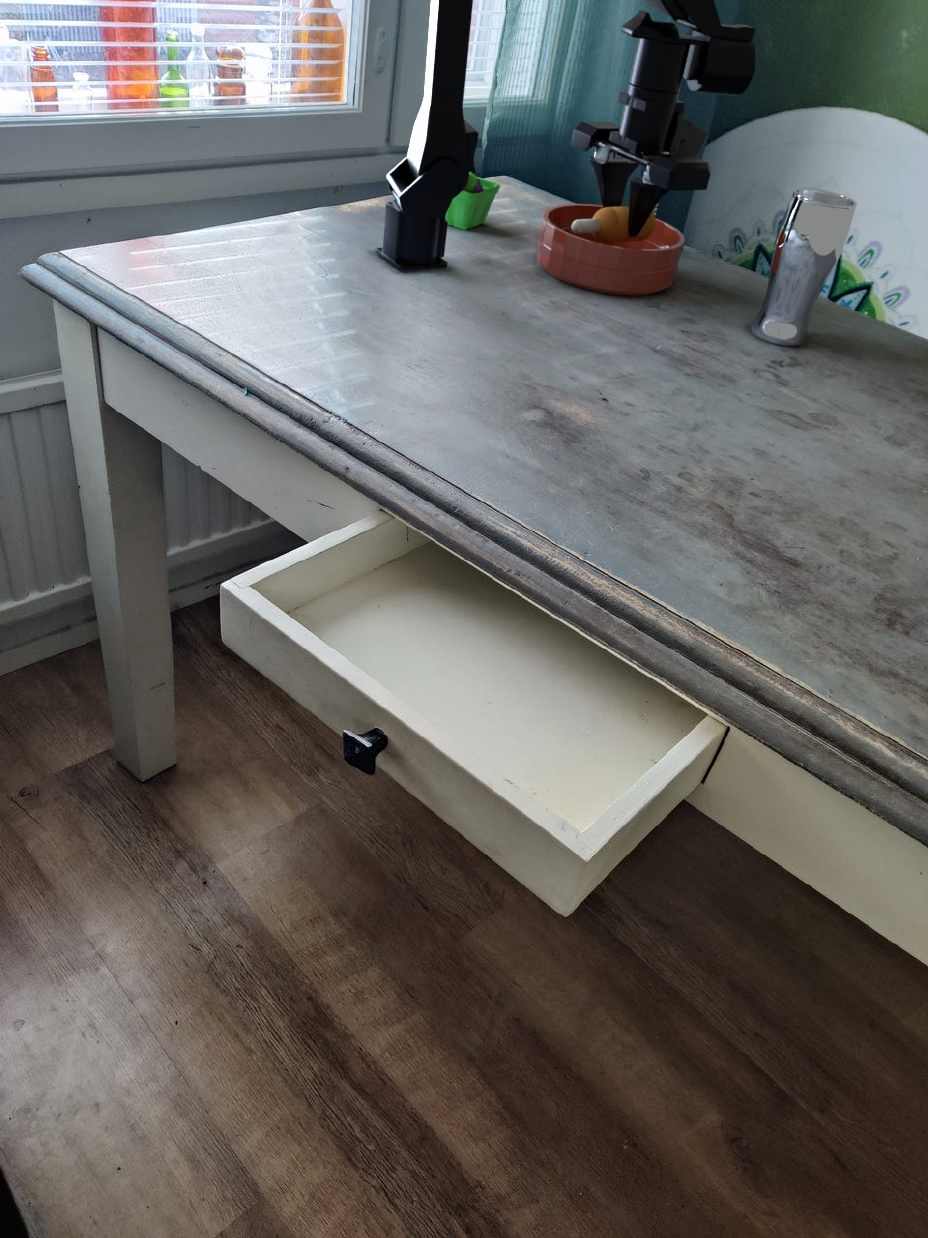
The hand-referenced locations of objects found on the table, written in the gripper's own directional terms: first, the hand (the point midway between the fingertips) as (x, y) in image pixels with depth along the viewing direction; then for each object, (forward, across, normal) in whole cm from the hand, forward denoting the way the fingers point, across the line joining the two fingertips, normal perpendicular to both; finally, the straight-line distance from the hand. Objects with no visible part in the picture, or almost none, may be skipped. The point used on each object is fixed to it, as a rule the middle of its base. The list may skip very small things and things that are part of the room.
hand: (621, 230), depth 116 cm
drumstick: (+1, 0, +2) cm, 2 cm away
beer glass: (+5, -22, -6) cm, 23 cm away
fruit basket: (+5, +22, +11) cm, 25 cm away
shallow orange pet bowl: (+5, 0, +1) cm, 5 cm away
